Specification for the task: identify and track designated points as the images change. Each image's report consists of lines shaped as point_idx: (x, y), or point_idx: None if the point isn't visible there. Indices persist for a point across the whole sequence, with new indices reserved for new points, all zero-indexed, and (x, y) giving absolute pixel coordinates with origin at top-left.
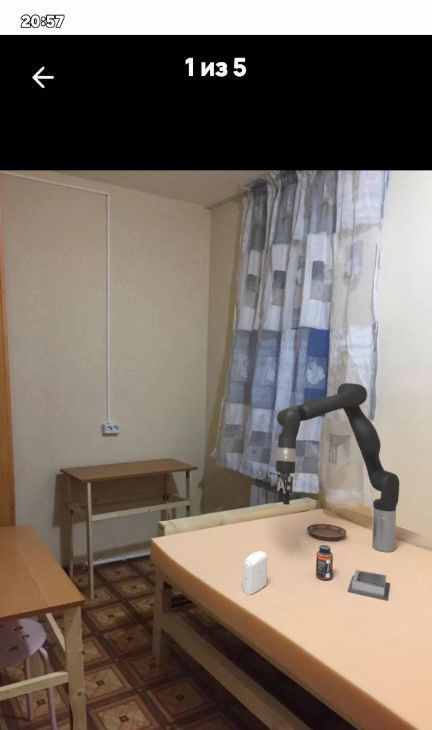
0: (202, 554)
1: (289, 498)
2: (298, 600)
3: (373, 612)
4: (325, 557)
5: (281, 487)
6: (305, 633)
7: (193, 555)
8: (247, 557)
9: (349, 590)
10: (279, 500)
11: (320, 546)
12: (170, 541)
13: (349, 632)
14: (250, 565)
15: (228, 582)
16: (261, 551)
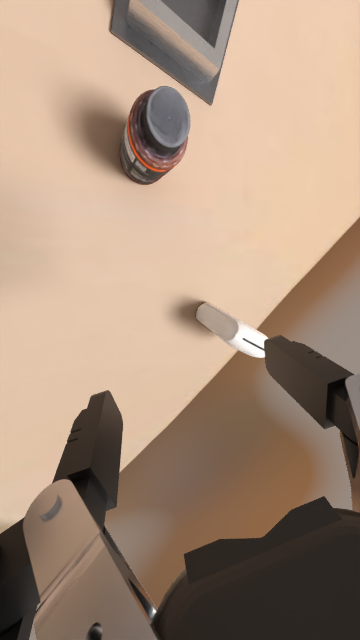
0: None
1: (312, 356)
2: (246, 241)
3: (286, 67)
4: (187, 137)
5: (129, 569)
6: (318, 234)
7: None
8: (261, 356)
9: (210, 96)
10: (117, 419)
11: (171, 142)
12: None
13: (326, 159)
14: None
15: (200, 360)
16: (237, 338)
